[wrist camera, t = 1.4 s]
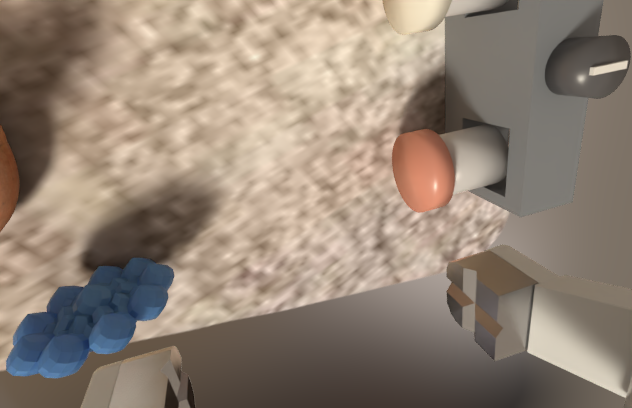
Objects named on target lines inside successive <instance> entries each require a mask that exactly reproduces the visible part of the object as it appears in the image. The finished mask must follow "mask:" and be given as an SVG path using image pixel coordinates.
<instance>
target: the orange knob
mask: <svg viewBox="0 0 632 408" xmlns="http://www.w3.org/2000/svg"><path fill="white" fill-rule="evenodd" d="M508 150H509V148H508V145H507V142H506V140H505V138H504V137H503V135H502V134H501V133H500V131H498V130H497V129H496V128H495V127H493V126H491V125H480V126H476V127H471V128H467V129H462V130H458V131H454V132H449V133H445V134H440V135H438V134H437V133H436V132H434V131H432V130H430V129H422V130H417V131H413V132H408V133H404V134H401V135H399V136H398V138H397V139H396V141H395V143H394V146H393V152H392V166H393V173H394V178H395V181H396V184H397V187H398V190H399V192H400V194H401V196H402V198H403V200H404V201H405V203H406V204H407V205H408V206H409V207H410V208H411V209H412V210H414V211H416V212H425V211H429V210H432V209H436V208H440V207H443V206H445V205H447V204H448V203H449V201H450V200H451V198H452V195H454V194H457V193H461V192H465V191H469V190H473V189H476V188H480V187H484V186H488V185H491V184H495V183H498V182H500V181H502V180H503V179H504V177H505V176H506V174H507V164H508Z"/></svg>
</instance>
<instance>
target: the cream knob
mask: <svg viewBox="0 0 632 408" xmlns="http://www.w3.org/2000/svg"><path fill="white" fill-rule="evenodd" d="M506 2H508V0H383V5H384V10H385V13H386V16H387V19H388V21H389V23H390V25H391V27H392V28H393V29H394V30H395V31H396V32H397V33H399V34H402V35H406V34H412V33H418V32H424V31H430V30H432V29H434V28H436V27H437V26H438V25H439V24H440V23H441V22H442V20H443V19H444V18H445V17H447V16H454V15H460V14H466V13H473V12H479V11H486V10H492V9H497V8H499V7H501V6H503V5H504V4H505V3H506Z"/></svg>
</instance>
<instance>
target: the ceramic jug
mask: <svg viewBox="0 0 632 408" xmlns="http://www.w3.org/2000/svg"><path fill="white" fill-rule="evenodd" d="M19 184H20V182H19V173H18V168H17V164H16V161H15V158H14V155H13V153H12V150H11V148H10V146H9V144H8V142H7V140H6V135H5V133H4V131H3V128H2V126H1V125H0V232H1V231H2V229H3V228H4V226H5V225H6V224H7V222H8V221H9V220H10V218H11V216H12V214H13V212H14V210H15V207H16V204H17V200H18V195H19Z"/></svg>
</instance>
